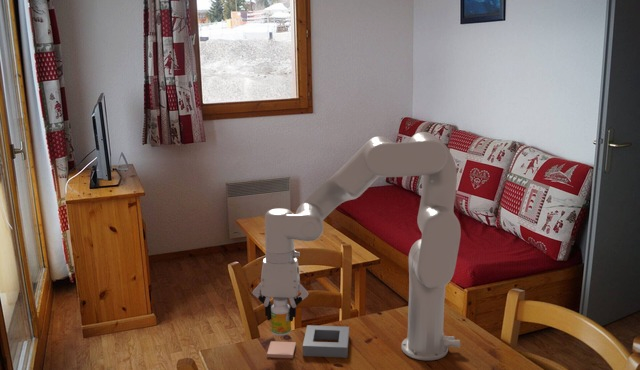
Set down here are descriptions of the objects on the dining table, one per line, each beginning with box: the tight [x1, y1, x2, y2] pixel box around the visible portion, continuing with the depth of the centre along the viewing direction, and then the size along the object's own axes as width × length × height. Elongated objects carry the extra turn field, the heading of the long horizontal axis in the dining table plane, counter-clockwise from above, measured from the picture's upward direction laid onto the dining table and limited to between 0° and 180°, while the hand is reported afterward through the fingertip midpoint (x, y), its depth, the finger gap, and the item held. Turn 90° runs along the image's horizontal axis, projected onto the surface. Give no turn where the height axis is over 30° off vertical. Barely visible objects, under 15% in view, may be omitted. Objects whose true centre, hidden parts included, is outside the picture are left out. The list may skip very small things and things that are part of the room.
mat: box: [266, 340, 297, 359], centre depth 177 cm, size 7×7×1 cm
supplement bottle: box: [270, 297, 292, 337], centre depth 174 cm, size 5×5×10 cm
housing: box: [302, 324, 350, 359], centre depth 179 cm, size 12×12×3 cm
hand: (280, 318), depth 174 cm, fingers closed on supplement bottle, 5 cm apart
